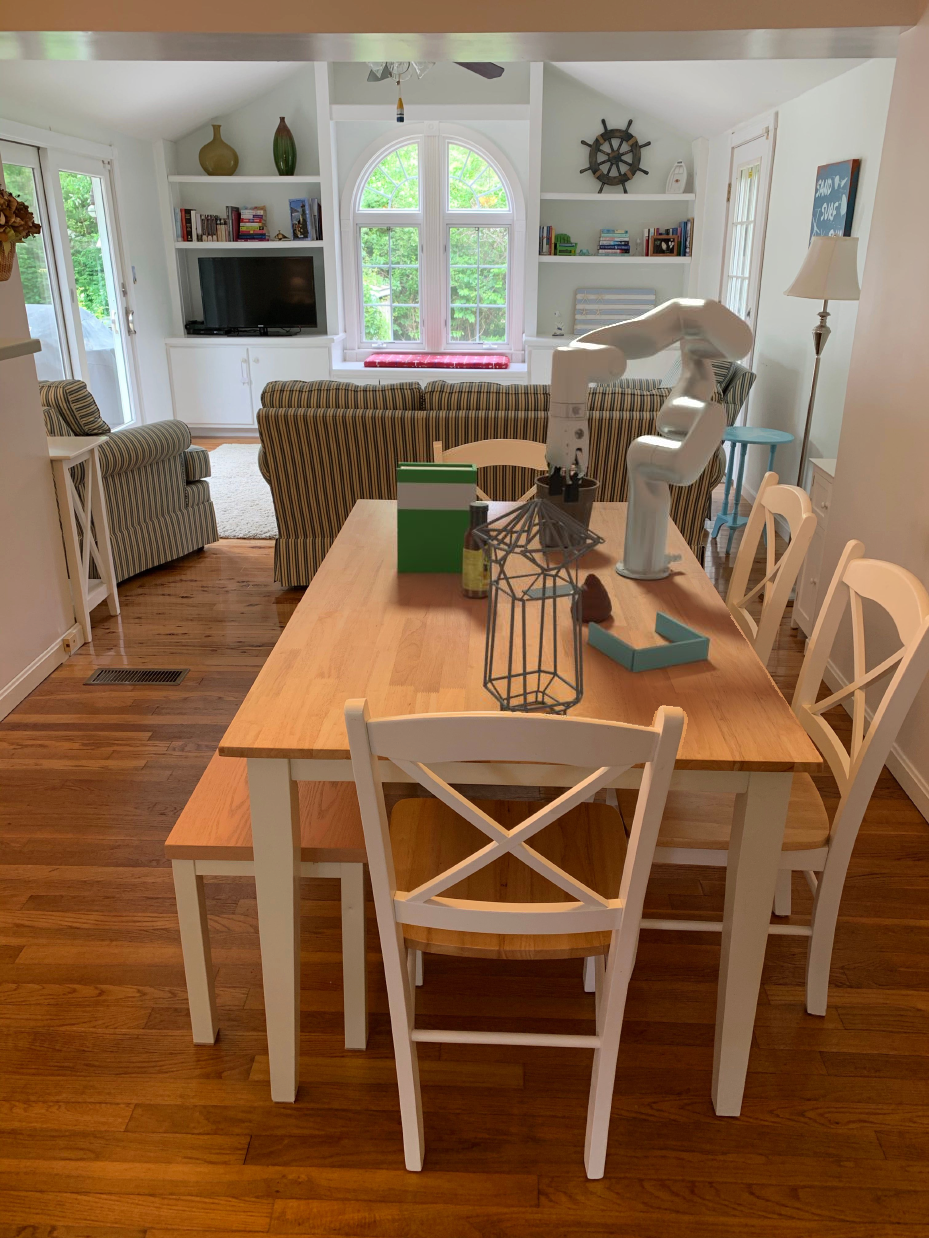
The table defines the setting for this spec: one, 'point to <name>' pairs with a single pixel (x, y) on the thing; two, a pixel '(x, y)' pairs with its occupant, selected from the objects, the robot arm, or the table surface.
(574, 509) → the plant pot
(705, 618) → the table surface
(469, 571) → the sauce bottle
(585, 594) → the poop emoji
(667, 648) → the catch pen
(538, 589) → the mat
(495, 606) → the geometric lantern
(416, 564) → the hardback book
